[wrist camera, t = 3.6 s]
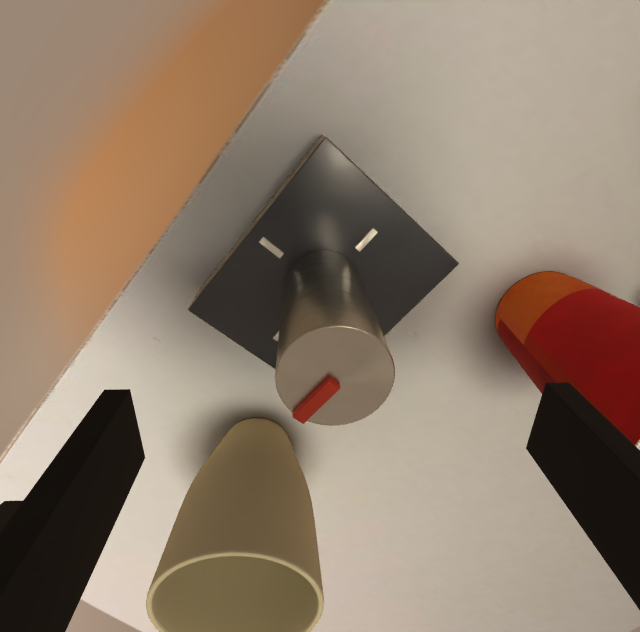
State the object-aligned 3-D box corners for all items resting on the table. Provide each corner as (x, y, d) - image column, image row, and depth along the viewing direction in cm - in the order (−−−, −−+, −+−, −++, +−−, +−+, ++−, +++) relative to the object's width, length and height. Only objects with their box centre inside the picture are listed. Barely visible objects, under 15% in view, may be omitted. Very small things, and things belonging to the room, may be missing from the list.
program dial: (318, 233, 22) (331, 305, 13) (376, 282, 23) (422, 376, 15) (267, 292, 23) (249, 391, 15) (325, 335, 24) (340, 449, 16)
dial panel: (322, 134, 22) (325, 136, 19) (442, 248, 25) (460, 264, 23) (198, 290, 26) (186, 311, 23) (317, 373, 29) (319, 400, 26)
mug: (176, 469, 32) (115, 644, 22) (227, 377, 29) (185, 531, 18) (297, 510, 35) (297, 684, 24) (357, 431, 32) (389, 593, 21)
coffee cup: (579, 362, 30) (811, 563, 16) (468, 364, 29) (613, 572, 16) (616, 251, 26) (956, 392, 13) (491, 251, 26) (703, 397, 12)
